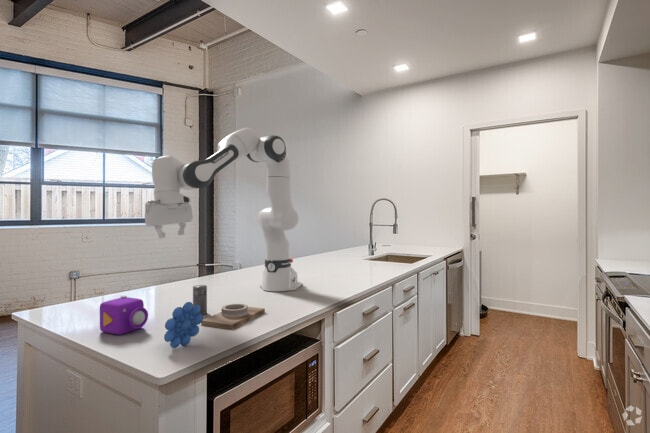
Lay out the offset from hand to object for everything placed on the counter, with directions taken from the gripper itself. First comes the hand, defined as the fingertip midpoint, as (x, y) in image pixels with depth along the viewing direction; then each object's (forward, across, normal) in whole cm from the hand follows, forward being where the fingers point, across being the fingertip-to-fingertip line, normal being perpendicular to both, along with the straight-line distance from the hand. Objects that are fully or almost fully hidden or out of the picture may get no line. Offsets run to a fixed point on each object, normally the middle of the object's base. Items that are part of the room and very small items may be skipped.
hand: (172, 236), depth 136 cm
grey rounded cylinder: (+29, -2, -11) cm, 31 cm away
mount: (+30, -2, -26) cm, 39 cm away
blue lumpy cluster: (+29, -28, -27) cm, 48 cm away
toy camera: (+27, -25, -2) cm, 37 cm away
